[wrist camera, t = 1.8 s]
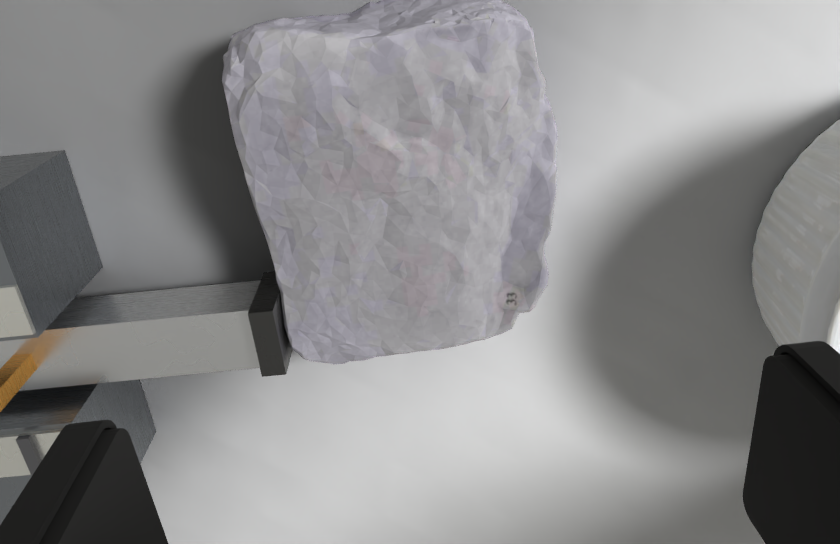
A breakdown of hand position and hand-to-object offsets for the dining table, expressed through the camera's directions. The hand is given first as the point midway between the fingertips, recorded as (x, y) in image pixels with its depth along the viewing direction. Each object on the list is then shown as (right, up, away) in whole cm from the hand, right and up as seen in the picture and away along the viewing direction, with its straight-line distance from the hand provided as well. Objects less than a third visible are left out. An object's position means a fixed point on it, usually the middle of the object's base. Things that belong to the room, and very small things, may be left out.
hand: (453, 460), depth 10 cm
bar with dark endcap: (-11, +1, +15) cm, 18 cm away
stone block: (-1, +6, +14) cm, 16 cm away
